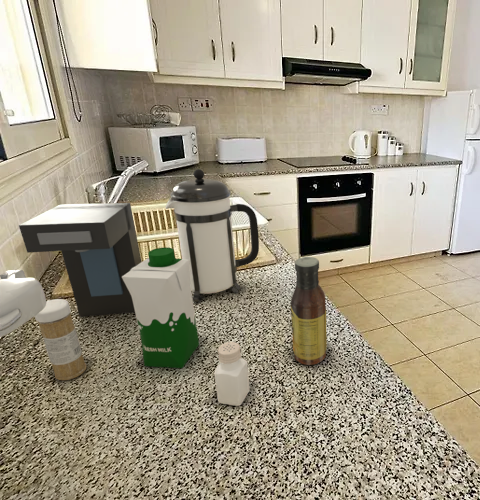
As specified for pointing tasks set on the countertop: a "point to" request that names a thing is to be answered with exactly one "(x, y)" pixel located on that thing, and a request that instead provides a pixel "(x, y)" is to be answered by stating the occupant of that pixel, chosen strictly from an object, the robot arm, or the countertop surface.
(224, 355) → the salt shaker
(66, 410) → the countertop surface
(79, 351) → the sprinkles bottle
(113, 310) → the coffee maker
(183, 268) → the milk carton
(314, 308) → the sauce bottle
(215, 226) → the coffee press
